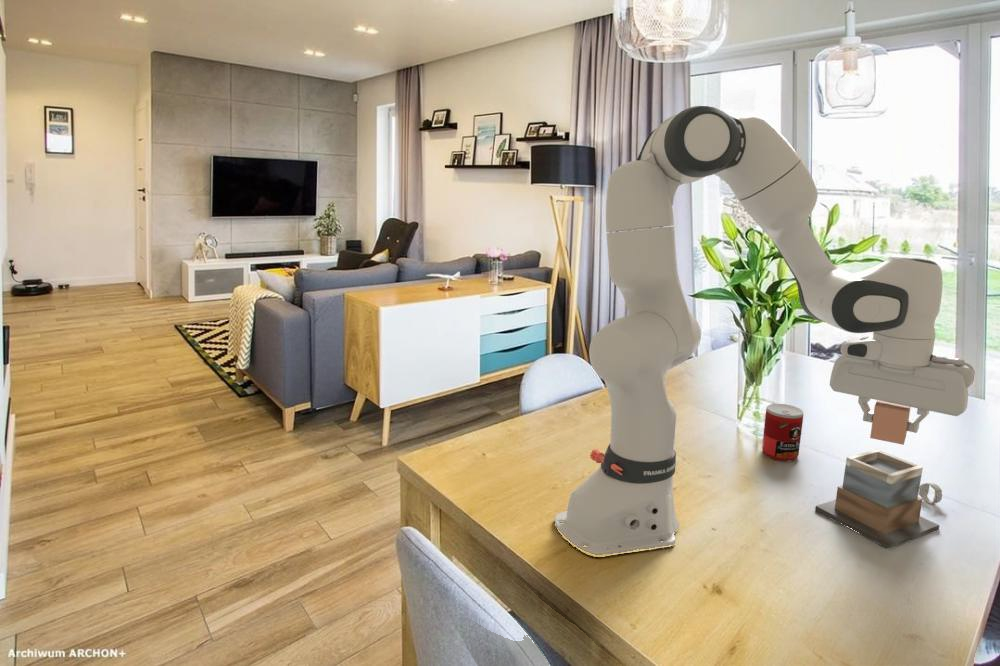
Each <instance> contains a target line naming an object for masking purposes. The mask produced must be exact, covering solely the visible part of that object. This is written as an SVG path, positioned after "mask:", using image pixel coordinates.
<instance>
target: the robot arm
mask: <svg viewBox="0 0 1000 666" xmlns="http://www.w3.org/2000/svg"><path fill="white" fill-rule="evenodd" d="M713 175H714V176H717V177H719V178H720V179H722V180H723V182H725V184H727V185H728V186H729V188H730V190H731V191H732V192H733V194H734V196H735V197H736V199H737V200H738V202H739V203H740V205H741V206H742V207H743V209H744V210H745V211H746V212H747V214H748V215H749V216H750V217H751V218H752V220H753V221H754V222H755V223H756V224H757V225H758V226H759V227H760V229H762V230H763V232H764V233H765V234H766V235H767V236H768V238H769V239H770V240H771V241H772V243H773V245H774V246H775V248H776V250H777V251H778V253H779V255H780V256H781V257H782V259H783V260H784V262H785V264H786V266H787V267H788V269H789V271H791V274H792V275H793V277H794V280H795V282H796V287H797V291H798V293H797V294H798V299H799V303H800V306H801V308H802V310H803V311H804V313H805V314H806V315H808V316H809V317H810V318H812V319H814V320H816V321H819V322H823V323H827V324H828V325H830V326H833V327H835V328H837V329H840V330H842V331H844V332H848V333H851V334H852V333H853V334H867V333H873V334H872V335H869V336H861V337H855V338H851V339H848V340H847V341H844V342H843V343H842V345H841V347H840V353H841V355H839V356H838V357H837V358H835V361H834V363H833V367H832V370H831V373H830V379H829V386H830V388H831V390H832V391H833V392H837V393H841V394H845V395H852V396H855V397H858V401H857V402H858V404H859V407H860V409H861V411H862V412H863V414H862V415H863V416H862V421H863V422H867V423H871V424H872V421H873V414H874V410H871V407H870V406H869V402H870V401H871V399H872V400H875V401H877V400H880V401H884V402H889V403H894V404H899V405H904V406H909V407H911V408H914V409H917V410H916V414H917V415H918V417H917V418H916V419H911V418H909V421H908V422H907V426H908V427H907V429H906V431H907V432H910V433H915V434H917V433H918V431H919V428H920V423H921V422H922V421H923V420H924V419H925V418H926V417H927V416H928V415H929V414H930V412H934V413H937V414H938V413H939V414H944V415H948V416H953V417H958V416H960V415H962V414H964V413H965V412H966V410H967V407H968V404H969V402H968V401H969V387H970V386H971V385H973V383H974V380H975V376H976V375H975V368H974V367H973V366H972V365H971V364H970V363H968V362H966V361H965V360H963V359H960V358H950V357H947V356H941V355H935V354H933V353H934V346H935V341H936V330H935V322H936V319H937V317H938V315H939V313H940V310H941V303H942V296H943V295H942V294H943V271H942V269H941V266H940V265H938V263H936V262H935V261H934V260H929V259H924V258H920V257H913V256H908V255H901V254H895V255H891V256H889V257H888V258H887V259H886V260H884V261H883V262H881V263H879V264H877V265H875V266H874V267H870V268H869V269H866V270H863V271H860V272H859V271H858V272H856V273H852V272H848V271H846V270H844V269H842V268H840V267H838V266H837V265H835V264H834V263H833V262H832V261H831V260H830V259H829V258H828V257H827V255H826V252H825V251H824V250H823V248H822V246H821V244H820V243H819V242H818V239H817V238H816V236H815V235H814V233H813V231H812V229H811V226H810V223H809V217H810V215H811V214H812V212H813V210H814V209H815V206H816V204H817V201H818V195H819V193H818V189H817V187H816V184H815V181H814V179H813V176H812V174H811V172H810V171H809V169H808V168H807V166H806V164H805V163H804V161H803V160H802V159H801V157H800V155H799V154H798V153H797V151H796V150H795V149H794V148H793V146H792V144H790V142H789V141H788V140H787V139H786V138H785V137H784V135H782V133H781V131H779V130H778V129H777V128H776V127H775V125H772V123H771V122H770V121H768V120H767V119H766V118H765V117H763V116H760V115H755V114H754V115H753V114H752V115H746V116H743V117H740V118H735V117H733V116H731V115H729V114H728V113H727V112H725V111H724V110H722V109H719V108H717V107H714V106H710V105H693V106H691V107H688V108H685V109H683V110H681V111H680V112H679V113H677V114H674V115H672V116H670V117H668V118H667V119H665V120H664V121H663V122H661V123H660V125H658V126H657V127H656V128H655V129H654V130H653V131H651V133H649V135H648V136H647V137H646V139H645V141H644V143H643V145H642V147H641V150H640V152H639V154H638V157H637V158H636V160H631V161H629V162H626V163H623V164H621V165H620V166H617V168H616V169H613V171H612V172H611V174H610V176H609V178H608V182H607V191H606V201H605V202H606V203H605V227H606V231H605V232H606V242H607V243H606V244H607V245H606V246H607V256H608V257H607V258H608V270H609V273H608V274H609V277H610V280H611V282H612V283H613V284H614V285H615V286H616V287H617V288H618V289H619V291H620V293H621V295H622V296H623V299H624V301H625V305H626V310H627V314H628V315H627V316H623V317H619V318H616V319H614V320H612V321H611V322H609V323H608V324H606V325H605V326H604V327H602V328H601V329H600V330H598V331H597V332H596V333H595V334H594V336H593V337H592V338H591V341H590V343H589V349H588V351H589V352H588V354H589V361H590V364H591V366H592V370H594V372H595V373H596V375H597V377H599V378H600V379H601V380H603V381H604V383H605V386H606V388H607V389H606V390H607V393H608V397H609V402H610V442H609V444H608V446H607V448H606V451H605V453H603V452H601V451H600V450H599V449H596V448H594V449H593V450H591V452H590V455H589V458H590V459H591V460H592V461H594V462H595V463H597V464H600V467H599V468H598V469H596V470H595V471H594V472H593V473H592V474H591V475H590V476H589V477H588V478H587V479H585V480H584V481H583V482H582V483H581V484H580V485H579V486H578V487H576V488H574V490H573V491H572V492H571V493H570V496H569V499H568V504H567V510H564V511H561V512H559V513H557V514H555V517H554V521H555V524H556V527H557V528H558V530H559V531H560V532H561V533H562V534H563V535H564V536H565V537H566V538H567V539H568V540H569V541H570V542H572V543H573V544H574V545H576V546H577V547H578V548H580V549H582V550H584V551H586V552H589V553H591V554H595V555H603V554H605V555H606V554H613V553H621V552H627V551H633V550H637V549H639V550H640V549H649V548H655V547H662V546H669V545H674V544H675V545H676V536H675V535H674V534H676V533H677V532H676V530H677V528H678V529H679V522H678V518H677V515H676V509H675V501H674V485H673V484H674V482H673V481H674V480H673V478H674V475H675V473H676V467H677V466H676V462H677V461H676V458H677V453H676V450H675V440H676V425H677V422H676V421H677V411H676V408H675V406H674V405H673V403H672V402H671V401H670V400H669V398H668V395H667V388H666V376H667V372H668V371H669V370H672V369H674V368H676V367H678V366H680V365H683V364H684V363H686V361H687V360H689V358H690V357H691V356H692V355H693V354H694V353H695V351H696V350H697V349H698V347H699V346H700V343H701V339H702V330H701V327H700V325H699V322H698V320H697V319H696V317H695V315H694V314H692V313H691V311H690V310H689V307H688V305H687V302H686V298H685V294H684V293H683V289H682V285H681V281H680V277H679V273H678V270H679V269H678V262H677V250H676V248H677V247H676V233H675V219H674V218H675V217H674V210H673V206H674V199H675V194H676V192H677V189H678V188H679V186H680V185H681V186H682V185H684V184H692V183H694V182H697V181H700V180H702V179H704V178H706V177H709V176H713ZM559 523H563V524H559ZM555 524H554V525H555ZM677 531H678V530H677ZM675 532H676V533H675ZM661 541H663V542H661ZM584 545H586V546H588V547H583V546H584Z"/></svg>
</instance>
